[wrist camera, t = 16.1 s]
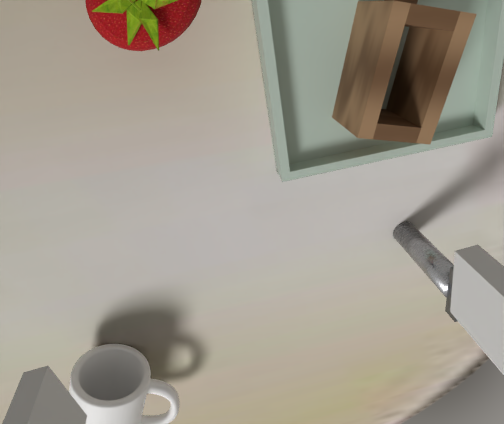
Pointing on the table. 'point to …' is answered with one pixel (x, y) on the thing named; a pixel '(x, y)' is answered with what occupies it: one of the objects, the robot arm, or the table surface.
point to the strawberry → (141, 21)
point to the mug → (118, 387)
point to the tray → (329, 74)
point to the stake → (427, 259)
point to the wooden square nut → (399, 69)
